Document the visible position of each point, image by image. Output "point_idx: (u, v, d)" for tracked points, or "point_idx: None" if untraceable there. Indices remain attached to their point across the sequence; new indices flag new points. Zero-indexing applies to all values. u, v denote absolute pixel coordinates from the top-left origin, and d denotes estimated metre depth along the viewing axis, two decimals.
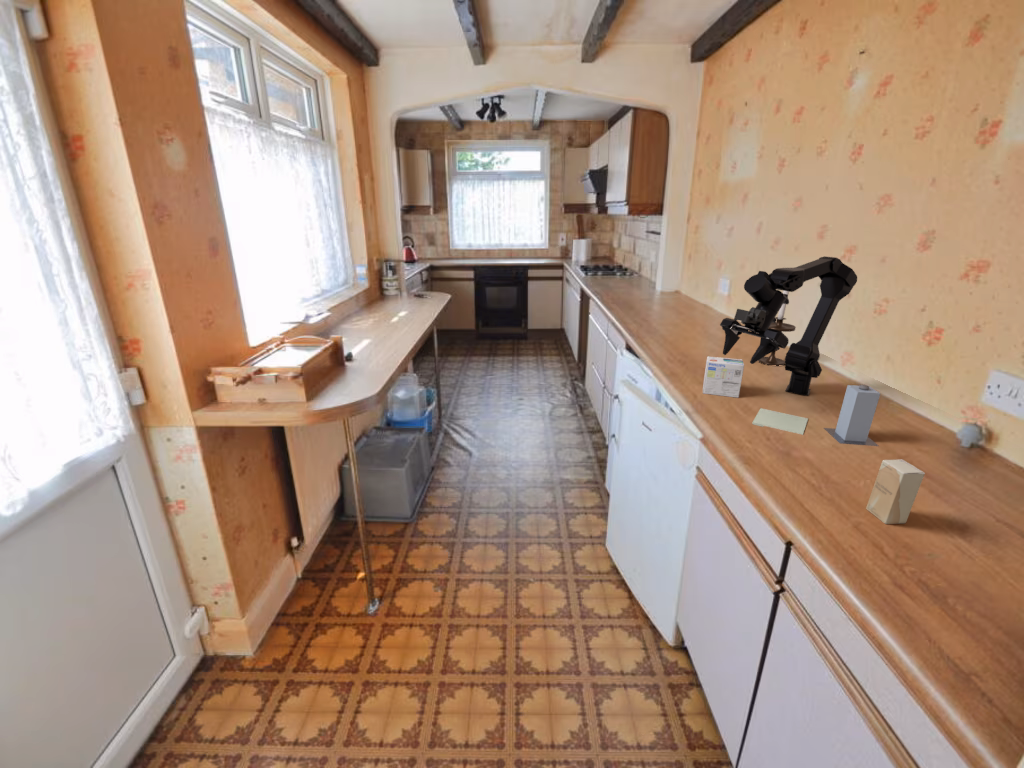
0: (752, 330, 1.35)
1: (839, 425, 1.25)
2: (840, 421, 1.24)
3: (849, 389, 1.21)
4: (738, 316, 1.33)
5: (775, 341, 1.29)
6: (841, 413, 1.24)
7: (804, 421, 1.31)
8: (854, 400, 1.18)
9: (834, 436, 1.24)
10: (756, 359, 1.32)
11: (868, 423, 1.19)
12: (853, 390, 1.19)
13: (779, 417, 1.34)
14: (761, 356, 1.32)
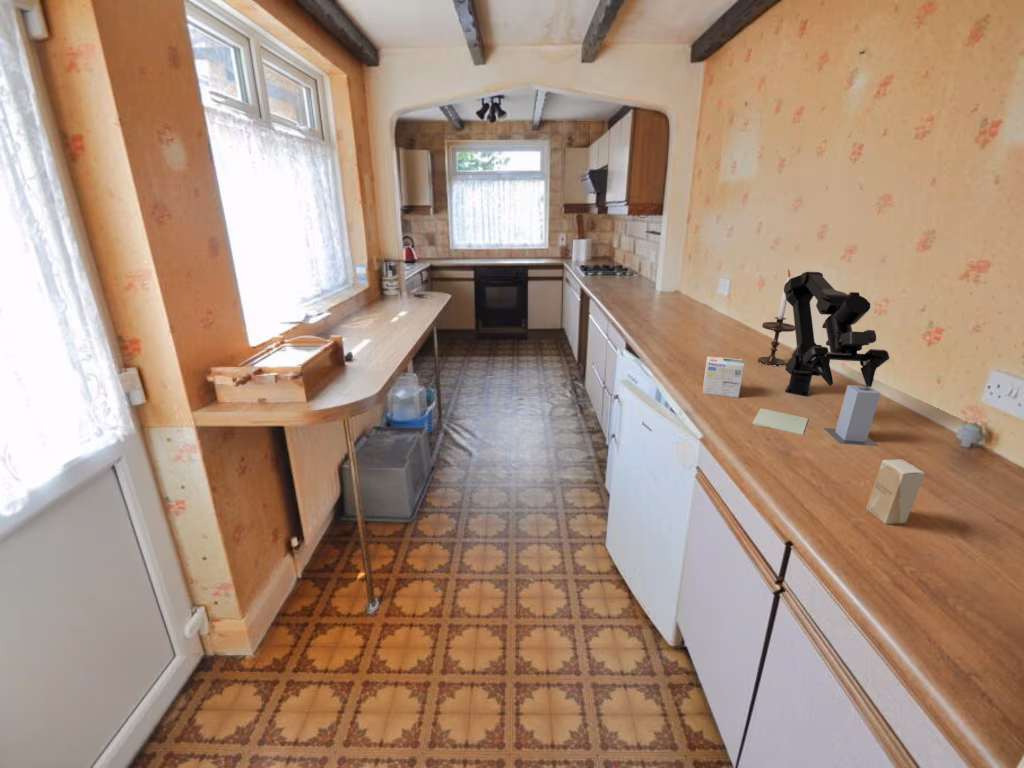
0: (850, 354, 1.27)
1: (839, 425, 1.25)
2: (840, 421, 1.24)
3: (849, 389, 1.21)
4: (857, 339, 1.22)
5: None
6: (841, 413, 1.24)
7: (804, 421, 1.31)
8: (854, 400, 1.18)
9: (834, 436, 1.24)
10: None
11: (868, 423, 1.19)
12: (853, 390, 1.19)
13: (779, 417, 1.34)
14: None
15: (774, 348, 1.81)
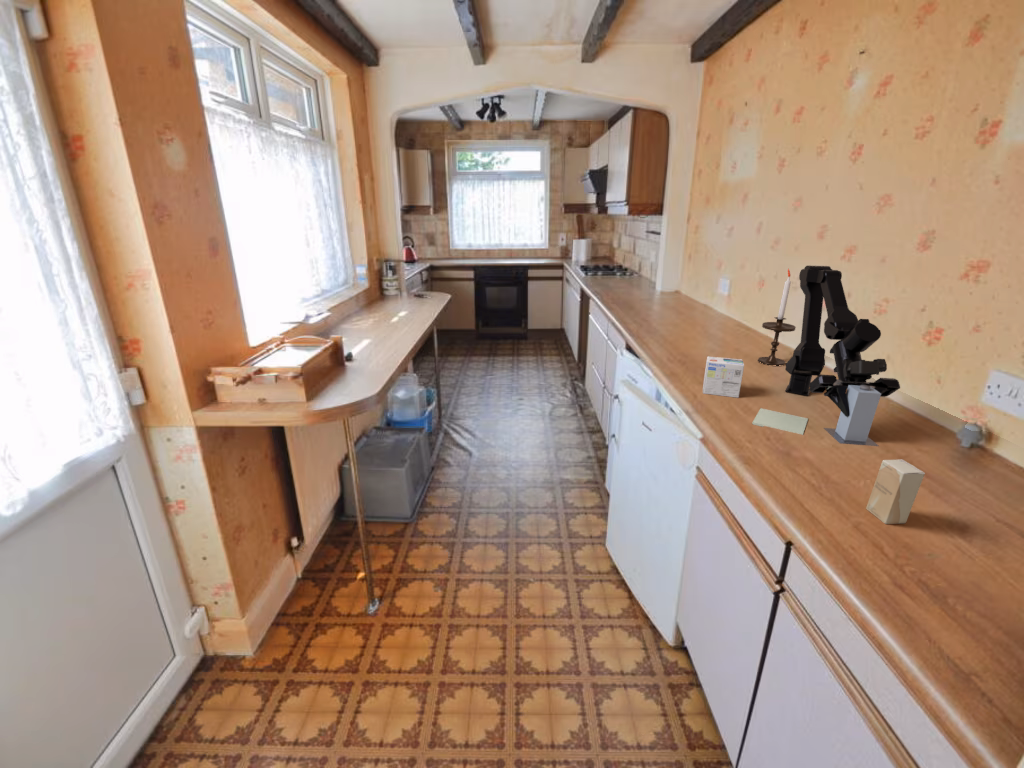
0: (867, 383, 1.22)
1: (839, 425, 1.24)
2: (840, 421, 1.24)
3: (850, 389, 1.21)
4: (867, 368, 1.17)
5: None
6: (841, 413, 1.24)
7: (804, 421, 1.31)
8: (855, 400, 1.18)
9: (834, 436, 1.24)
10: None
11: (868, 423, 1.19)
12: (854, 390, 1.19)
13: (779, 417, 1.34)
14: None
15: (774, 348, 1.81)
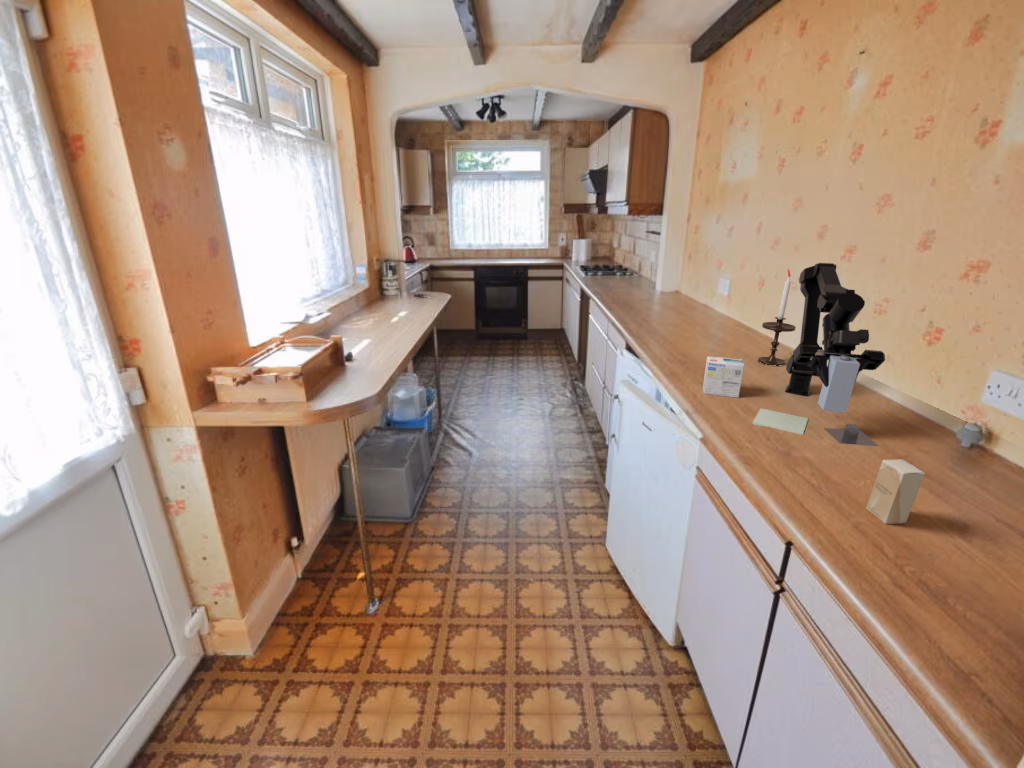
0: (852, 355, 1.21)
1: (821, 396, 1.25)
2: (822, 392, 1.24)
3: (831, 359, 1.21)
4: (846, 338, 1.17)
5: None
6: (823, 384, 1.24)
7: (804, 421, 1.31)
8: (833, 370, 1.19)
9: (834, 436, 1.24)
10: None
11: (847, 393, 1.19)
12: (833, 360, 1.19)
13: (779, 417, 1.34)
14: None
15: (774, 348, 1.81)
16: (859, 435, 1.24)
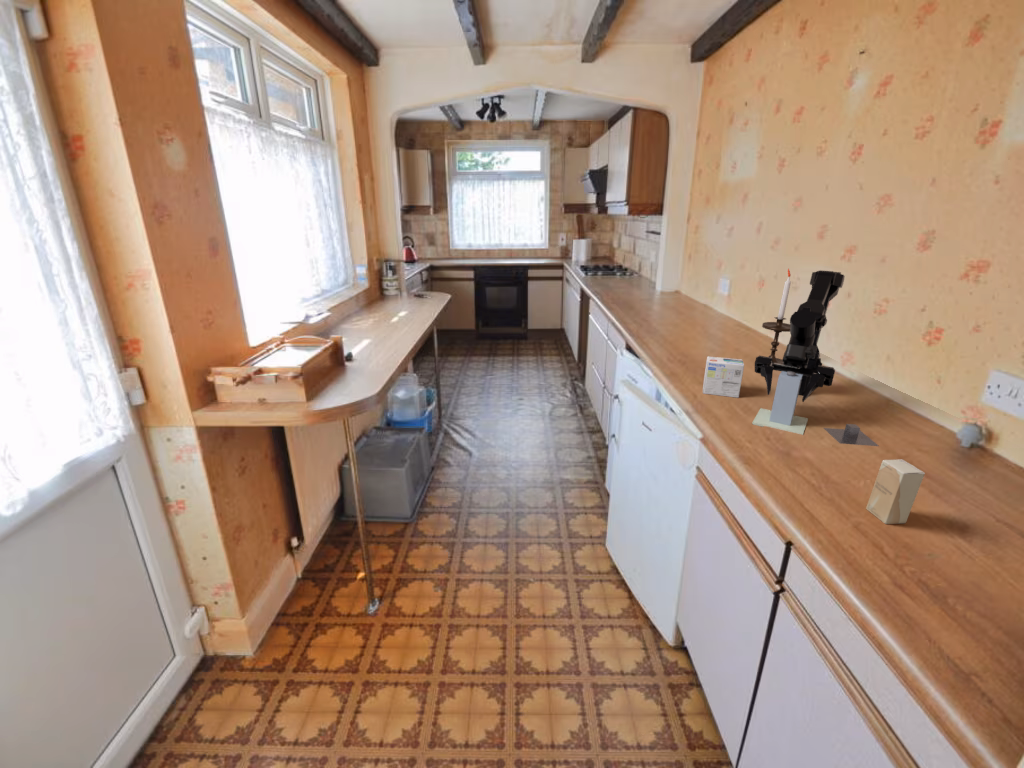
0: (798, 368, 1.29)
1: None
2: None
3: None
4: (792, 352, 1.26)
5: (824, 377, 1.26)
6: None
7: (804, 421, 1.31)
8: (777, 383, 1.28)
9: (834, 436, 1.24)
10: (806, 396, 1.27)
11: (790, 407, 1.28)
12: (779, 375, 1.29)
13: None
14: (809, 393, 1.28)
15: (774, 348, 1.81)
16: (859, 435, 1.24)
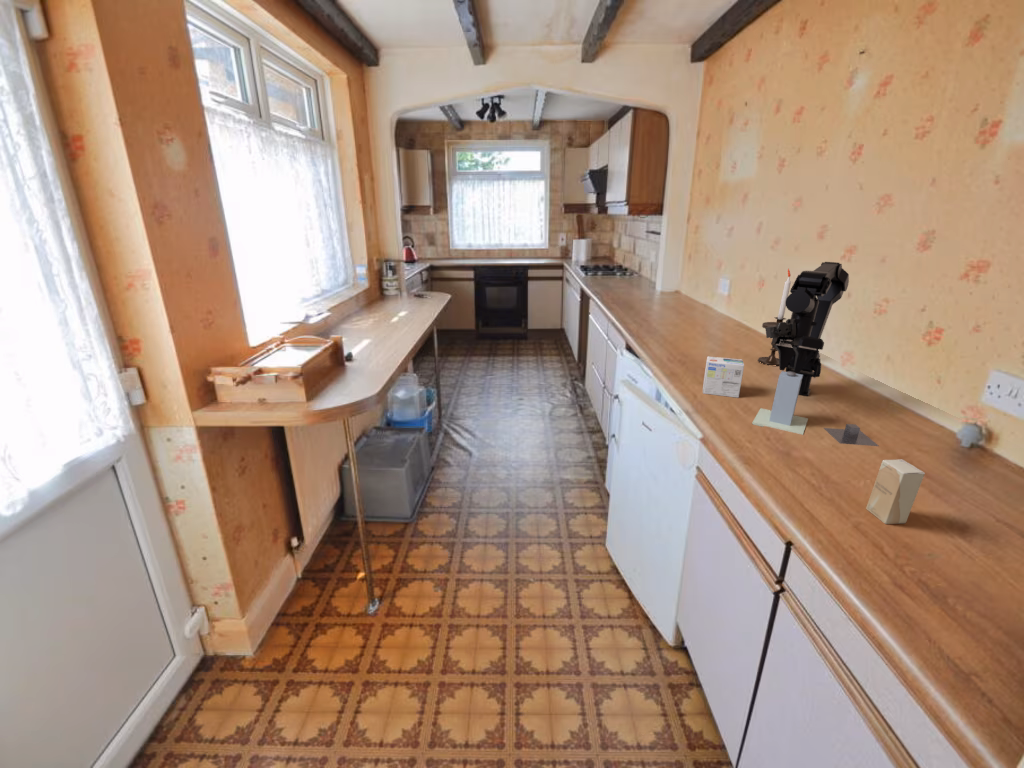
0: (791, 341, 1.36)
1: None
2: None
3: None
4: (767, 334, 1.38)
5: None
6: None
7: (804, 421, 1.31)
8: (777, 384, 1.28)
9: (834, 436, 1.24)
10: (799, 368, 1.32)
11: (790, 407, 1.28)
12: (780, 375, 1.29)
13: None
14: (803, 363, 1.31)
15: (774, 348, 1.81)
16: (859, 435, 1.24)
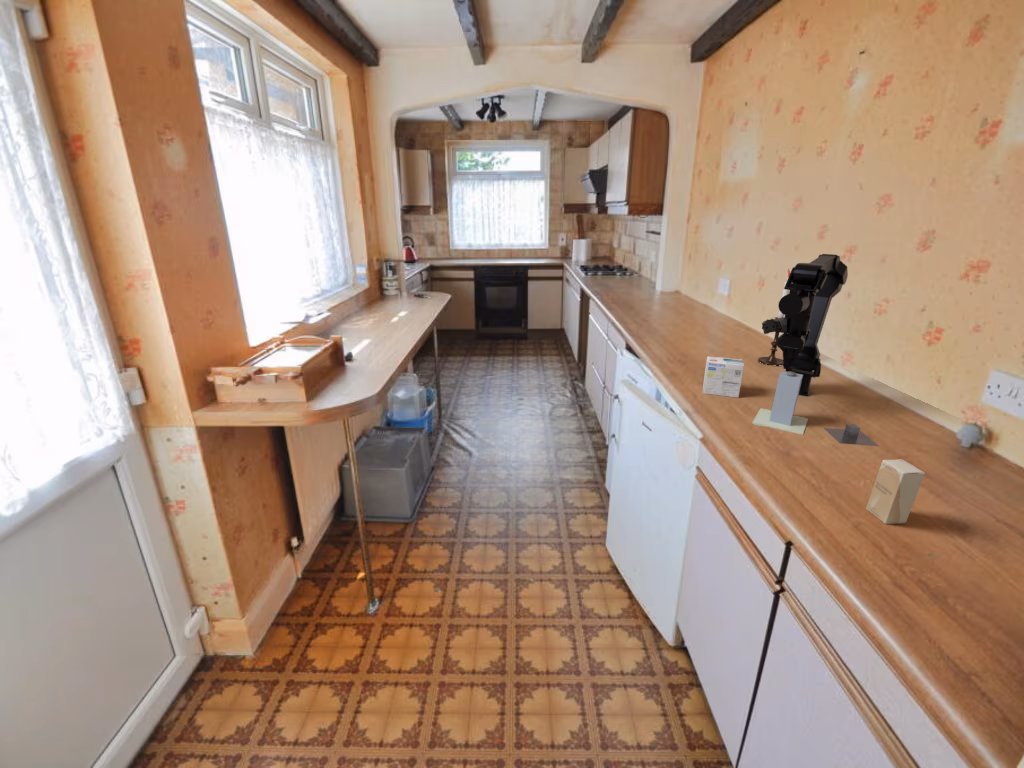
0: None
1: None
2: None
3: None
4: None
5: None
6: None
7: (804, 421, 1.31)
8: (777, 384, 1.28)
9: (834, 436, 1.24)
10: (787, 364, 1.34)
11: (790, 407, 1.28)
12: (780, 375, 1.29)
13: None
14: (791, 360, 1.32)
15: (774, 348, 1.81)
16: (859, 435, 1.24)
